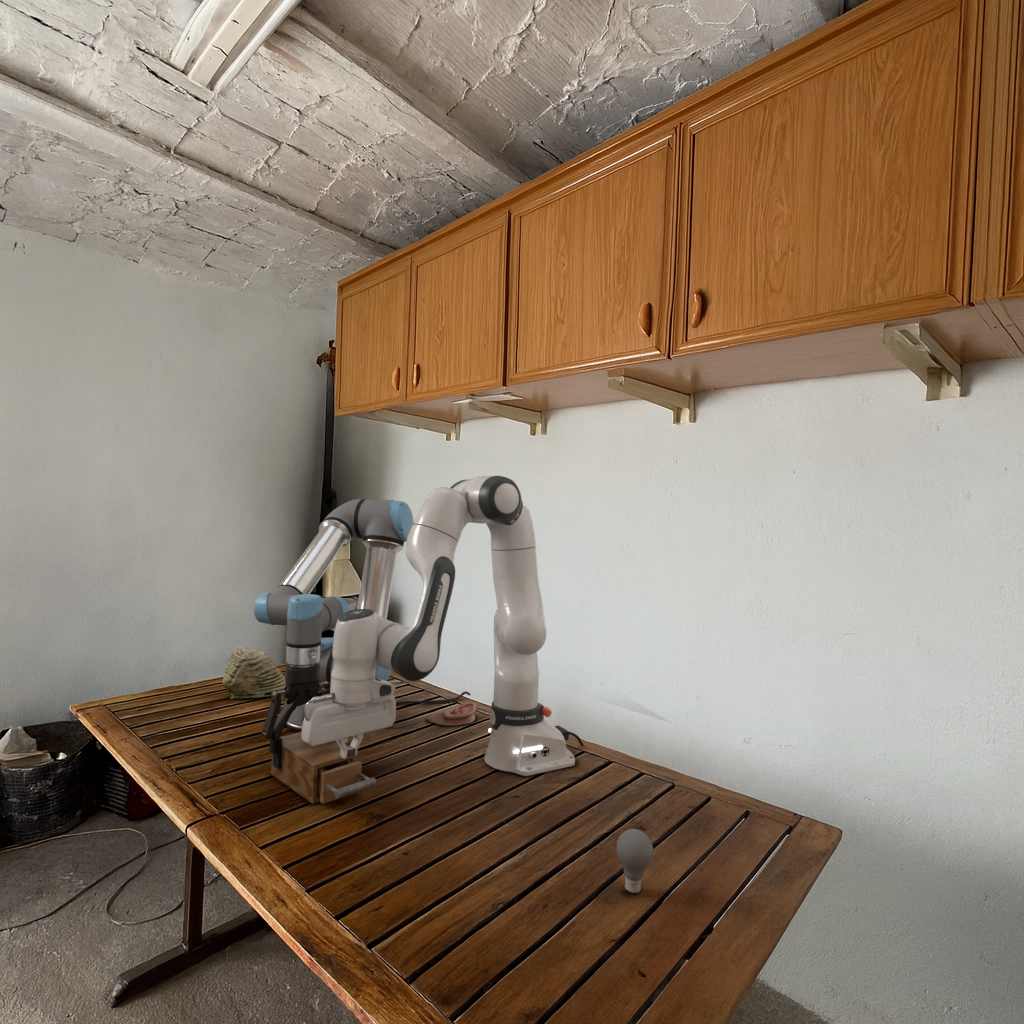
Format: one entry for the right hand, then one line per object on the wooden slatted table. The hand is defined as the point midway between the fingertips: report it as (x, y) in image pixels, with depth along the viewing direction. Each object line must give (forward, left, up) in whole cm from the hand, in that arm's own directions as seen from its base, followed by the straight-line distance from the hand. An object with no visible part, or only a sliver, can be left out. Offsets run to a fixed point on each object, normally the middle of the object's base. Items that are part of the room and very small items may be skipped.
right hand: (348, 756), depth 130 cm
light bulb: (-43, +42, -10) cm, 60 cm away
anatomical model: (-34, -44, -10) cm, 57 cm away
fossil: (+21, -80, -10) cm, 83 cm away
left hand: (+9, -19, -7) cm, 22 cm away
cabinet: (+6, -13, -10) cm, 18 cm away
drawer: (+3, -7, -9) cm, 13 cm away
